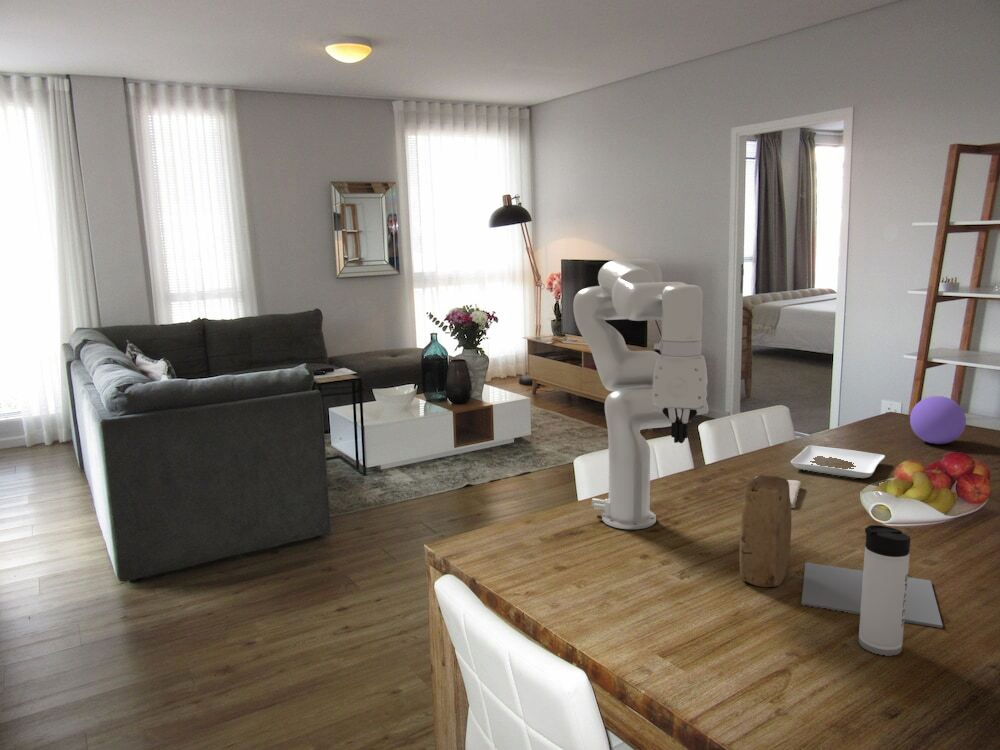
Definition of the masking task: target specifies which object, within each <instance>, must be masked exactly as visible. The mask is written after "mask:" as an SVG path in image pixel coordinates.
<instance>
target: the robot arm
mask: <svg viewBox="0 0 1000 750" xmlns="http://www.w3.org/2000/svg"><path fill="white" fill-rule="evenodd" d="M597 274H598V275H597V280H598V285H595V286H588V287H586V288H582V289H581V290H579V291H578V292H577V293H576V294H575V296H574V298H573V303H572V304H573V305H572V306H573V307H572V308H573V309H572V310H573V316H574V321H575V324H576V326H577V329H578V331H579V333H580V334H581V336H582V338H583V340H584V341H585V342H586V344H587V345H588V347H589V350H590V352H591V354H592V358H593V360H594V364H595V367H596V370H597V373H598V376H599V378H600V381H601V383H602V386H603V387H604V388H605V389H606V390H607V391H609V392H611V393H609V394H608V395H607V396H606V398H605V401H604V414H605V420H606V425H607V437H608V498H605V499H602V498H598V497H597V498H595V497H592V499H591V506H592V507H593V509H594V510H601V511H603V512H602V514H601V521H603V522H604V524H606V525H608V526H610V527H612V528H615V529H620V530H621V529H622V530H641V529H647V528H650V527H652V526H653V525H654V524H655V523H657V515H656V514H655V513H654V512H653V511H652V510H650V501H651V499H650V498H651V497H650V495H651V494H650V491H651V486H650V485H651V448H650V445H649V442H648V441H647V440H646V438H645V437H644V436H643V435H642V434H641V430H647V429H658V428H659V429H660V428H667V427H671V430H670V431H671V438H673V442H674V443H675V444H678V443H679V444H683V443H684V442H685V440H686V439H688V437H689V422H690V421H691V420H692V419H693V418H695V416H701V415H705V414H708V412H709V405H708V399H709V398H708V397H709V387H708V386H709V384H708V382H709V381H708V370H707V363H706V358H705V355H702V338H703V337H702V336H703V335H702V334H703V290H702V288H701V286H699V285H696V284H687V283H686V282H682V281H663V273H662V269H661V267H660V266H659V264H658V263H657V262H656V261H655V260H653V259H651V258H631V259H630V258H629V259H628V258H623V259H621V258H619V259H614V260H610V261H608V262H606V263H604V264H603V265H602V266H601V267H600V269H599V271H598V273H597ZM613 320H614V321H615V320H616V321H617V320H629V321H636V322H642V321H661V339H660V341H658V342H654V343H653V349H654V350H630V349H629V348H628V346H627V345H626V341H625V338H624V337H623V334H621V333H620V331H618V329H616V328H615V327H614V326H612V325H611V324H610V323H608V322H606V321H613ZM655 350H657V351H659V352H660V353H659V352H656V351H655Z"/></svg>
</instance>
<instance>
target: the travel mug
mask: <svg viewBox="0 0 1000 750" xmlns="http://www.w3.org/2000/svg"><path fill="white" fill-rule="evenodd" d="M864 529H865V530H864V533H865V544H864V555H863V570H862V571H863V582H862V597H861V611H860V615H859V628H858V629H859V630H858V644H859V645H860V647H861V648H862V649H864V650H865V649H866V651H867V650H868V652H869V651H870V653H871V652H872V654H874V653H875V654H874V655H877V654H879V655H878V656H882V655H885V656H884V657H892V656H893V655H894V656H897V655H899V654H901V652H902V650H903V641H904V630H905V629H904V628H905V627H904V626H905V622H904V618H905V606H906V594H907V581H908V577H909V566H910V554H911V552H910V550H911V549H910V548H911V547H910V546H911V540H912V539H911V537H910V535H907V534H906V533H904V532H903V531H901V530H900V529H898V528H894V527H890V526H885V525H879V524H871V525H868V526H866V528H864Z"/></svg>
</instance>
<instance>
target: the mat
mask: <svg viewBox="0 0 1000 750" xmlns="http://www.w3.org/2000/svg"><path fill="white" fill-rule="evenodd" d="M802 582H803V583H802V584H803V585H802V593H801V604H802V605H801V606H805V605H809V606H808V607H811V606H815V607H814V608H817V607H821V608H820V609H823V608H827V609H826V610H829V609H831V610H830V611H835V610H837V611H836V612H841V611H844V612H843V613H847V612H848V614H854V615H859V616H860V611H861V597H862V582H863V570H861V569H860V570H859V569H852V568H848V567H838V566H834V565H833V566H832V565H828V564H818V563H814V562H812V563H811V562H804V573H803V581H802ZM941 617H942V616H941V615H940V611H939V605H938V603H937V599H936V596H935V592H934V588H933V584H932V580H930V579H922V578H916V577H909V576H908V581H907V594H906V606H905V618H904V623H908V624H915V625H918V626H919V625H921V626H925V627H927V626H928V627H933V628H940V629H943V628H944V625H943V622H942V618H941Z"/></svg>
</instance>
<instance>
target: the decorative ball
mask: <svg viewBox="0 0 1000 750" xmlns="http://www.w3.org/2000/svg"><path fill="white" fill-rule="evenodd" d="M909 416H910V417H909V423H910V426H911V429H912V431H913V432H914V434H915V435H916V436H917V437H918V438H919V439H921V440H922V441H924V442H926V443H929V444H932V443H933V444H932V445H946V444H949V443H952V442H953V441H955V440H957V439H958V438H959V437H960V436H961V435H962V434H963V432H964V430H965V428H966V424H967V423H966V422H967V420H966V419H967V418H966V414H965V412H964V409H963V408H962V407H961V405H960V404H959V403H958V402H956V401H955V400H953V399H951V398H949V397H947V396H946V397H945V396H943V395H942V396H941V395H931V396H929V397H925V398H924V399H921V400H920V401H918V402H917V403H916V404H915V405H914V407H913V408H912V409H911V412H910V415H909Z"/></svg>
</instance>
